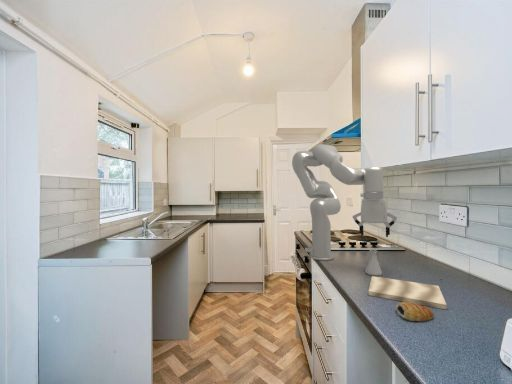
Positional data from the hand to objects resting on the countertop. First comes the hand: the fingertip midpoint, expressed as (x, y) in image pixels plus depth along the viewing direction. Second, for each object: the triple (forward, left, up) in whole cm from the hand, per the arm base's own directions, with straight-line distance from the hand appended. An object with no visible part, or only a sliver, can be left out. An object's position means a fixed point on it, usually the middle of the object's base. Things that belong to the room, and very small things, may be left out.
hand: (374, 235), depth 108 cm
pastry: (+12, -32, -17) cm, 39 cm away
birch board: (+11, -16, -17) cm, 25 cm away
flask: (0, 0, -17) cm, 17 cm away
